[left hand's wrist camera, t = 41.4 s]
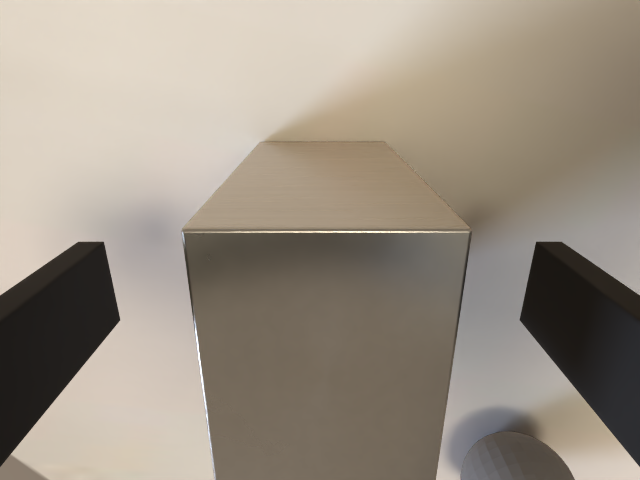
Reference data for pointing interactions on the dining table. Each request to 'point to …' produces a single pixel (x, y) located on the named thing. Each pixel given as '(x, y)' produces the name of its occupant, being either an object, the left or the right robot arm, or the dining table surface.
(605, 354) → the left robot arm
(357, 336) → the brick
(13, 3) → the dining table surface
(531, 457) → the molecular model
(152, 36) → the dining table surface
